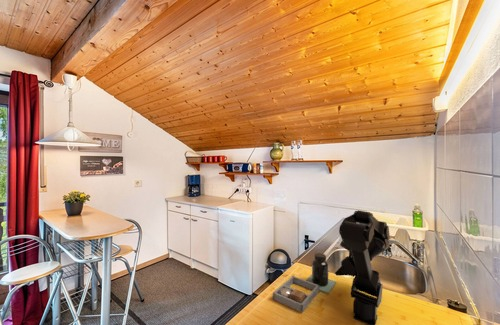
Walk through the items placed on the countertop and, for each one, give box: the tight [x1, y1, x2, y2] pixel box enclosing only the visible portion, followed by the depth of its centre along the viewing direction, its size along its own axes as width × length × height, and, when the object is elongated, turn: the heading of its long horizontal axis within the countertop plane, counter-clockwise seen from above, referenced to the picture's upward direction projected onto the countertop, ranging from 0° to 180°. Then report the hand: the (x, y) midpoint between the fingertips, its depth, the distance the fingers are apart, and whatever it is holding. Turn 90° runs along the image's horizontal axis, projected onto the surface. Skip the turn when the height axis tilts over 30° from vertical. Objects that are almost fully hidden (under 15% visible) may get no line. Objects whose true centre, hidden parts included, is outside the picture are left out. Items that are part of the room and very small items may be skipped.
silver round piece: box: [281, 288, 291, 299], centre depth 86 cm, size 4×4×3 cm
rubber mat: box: [305, 273, 337, 295], centre depth 97 cm, size 11×11×1 cm
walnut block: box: [290, 288, 306, 303], centre depth 83 cm, size 4×4×4 cm
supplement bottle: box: [311, 252, 329, 286], centre depth 97 cm, size 7×7×12 cm
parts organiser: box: [272, 275, 320, 313], centre depth 88 cm, size 12×17×2 cm
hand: (338, 269), depth 92 cm, fingers open, 9 cm apart
